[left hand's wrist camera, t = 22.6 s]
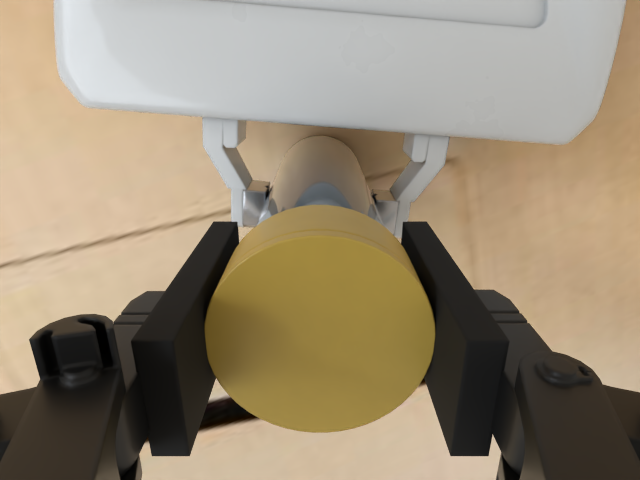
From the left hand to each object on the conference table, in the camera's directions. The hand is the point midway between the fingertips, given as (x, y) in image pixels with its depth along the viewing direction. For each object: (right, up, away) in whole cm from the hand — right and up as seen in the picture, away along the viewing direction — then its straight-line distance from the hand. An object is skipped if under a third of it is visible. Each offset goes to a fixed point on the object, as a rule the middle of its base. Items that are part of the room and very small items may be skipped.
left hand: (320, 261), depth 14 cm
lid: (0, -1, -4) cm, 4 cm away
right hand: (0, +1, +6) cm, 6 cm away
